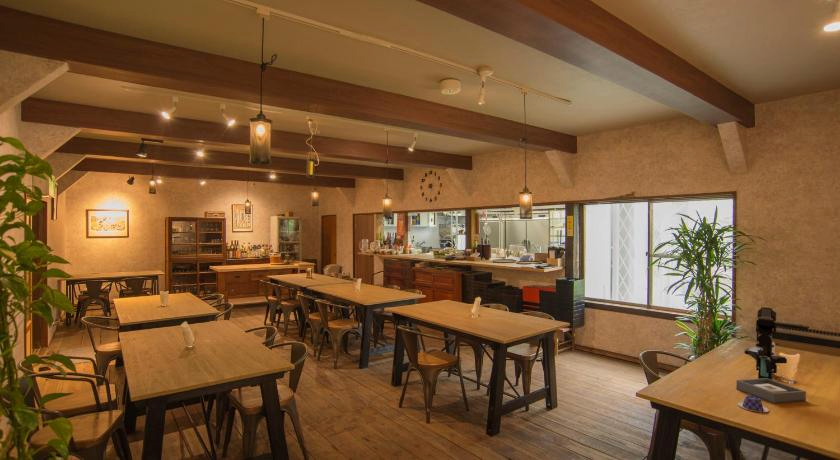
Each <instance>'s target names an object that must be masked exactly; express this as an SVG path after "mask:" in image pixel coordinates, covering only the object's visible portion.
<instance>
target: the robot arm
mask: <svg viewBox="0 0 840 460" xmlns="http://www.w3.org/2000/svg"><path fill="white" fill-rule="evenodd" d="M776 321H777V312H776V311H774V310H773V308H771V307H766V306H765V307H764V306H762V307H760V309H758V310H757V319H756V323H755V324H756V326H755V332H758V336H757V342H756V344H755V346H752V347H750V348H749V347H748V348H747V347H746V348H745V349H744V354H745V355H748V356H750V357H751V358H753V359H754V360H755V362H756V363H755V364H756V365H755V367H756V371H757V370H759V373H758V372H757V379H760V378H768V379H771V380H773V378H774V377H773V376H774V375H773V373H775V374H777V370H778V369H777V368H778V366H777V364H787V363H788V359H787V358H786V357H784V356H782V355H775V356H772V355H774V353H772V347H774V345H772V341H773V334H774V335H775V334H776V332H777V323H776ZM761 358H767V359H768V360H765V362H766V371H767V373H768V377H764V376H761ZM758 367H759V368H758ZM772 369H773V370H772Z"/></svg>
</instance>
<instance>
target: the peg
mask: <svg viewBox="0 0 840 460" xmlns="http://www.w3.org/2000/svg"><path fill="white" fill-rule="evenodd" d="M765 360H768V359H767V358H761V376H764V377H768V373H767V371H766V362H765Z"/></svg>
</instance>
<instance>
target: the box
mask: <svg viewBox="0 0 840 460" xmlns="http://www.w3.org/2000/svg"><path fill="white" fill-rule="evenodd" d="M735 388H736V390H737V391H739V392H741V393H744V394H748V395H749V396H754V397H758V398H760V399H761V401H766V402H767V403H770V404H773V405H777V404H779V405H780V404H790V403H802V402H806V401H807V400H806V399H807V391H806V390H802V389H799V388H798V387H794V386H792V385H791V386H790V385H788V384H785V383H782V382H780V381H776V380H771V379H768V378H760V379H758V378H747V379H736V387H735Z"/></svg>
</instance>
